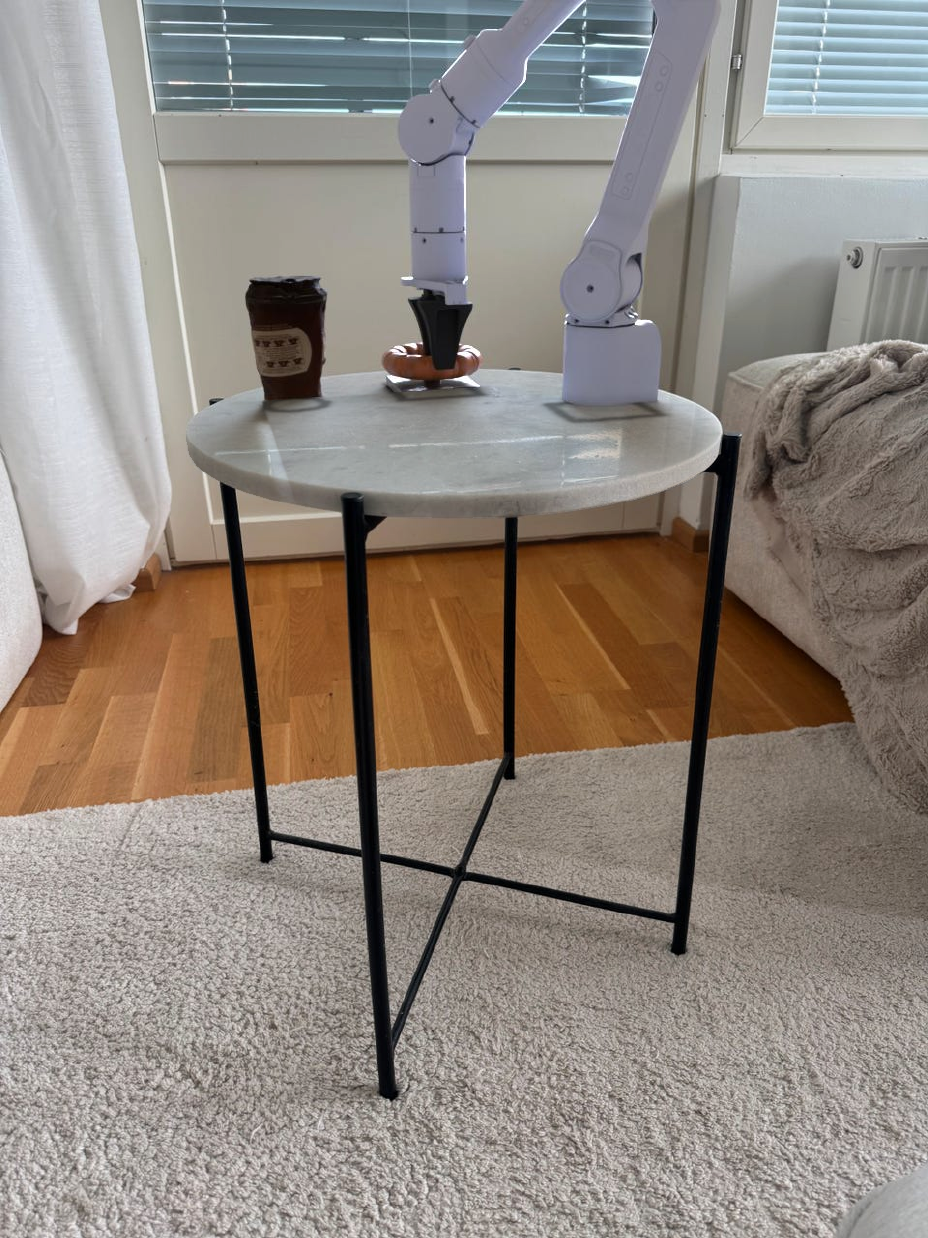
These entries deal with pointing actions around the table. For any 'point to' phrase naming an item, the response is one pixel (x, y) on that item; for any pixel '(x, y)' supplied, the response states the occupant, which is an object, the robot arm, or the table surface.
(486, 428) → the table surface
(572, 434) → the table surface
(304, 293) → the coffee cup
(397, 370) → the ring
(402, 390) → the stand
